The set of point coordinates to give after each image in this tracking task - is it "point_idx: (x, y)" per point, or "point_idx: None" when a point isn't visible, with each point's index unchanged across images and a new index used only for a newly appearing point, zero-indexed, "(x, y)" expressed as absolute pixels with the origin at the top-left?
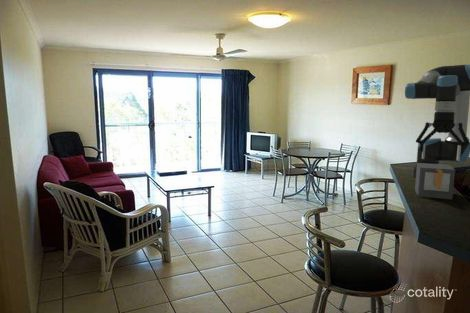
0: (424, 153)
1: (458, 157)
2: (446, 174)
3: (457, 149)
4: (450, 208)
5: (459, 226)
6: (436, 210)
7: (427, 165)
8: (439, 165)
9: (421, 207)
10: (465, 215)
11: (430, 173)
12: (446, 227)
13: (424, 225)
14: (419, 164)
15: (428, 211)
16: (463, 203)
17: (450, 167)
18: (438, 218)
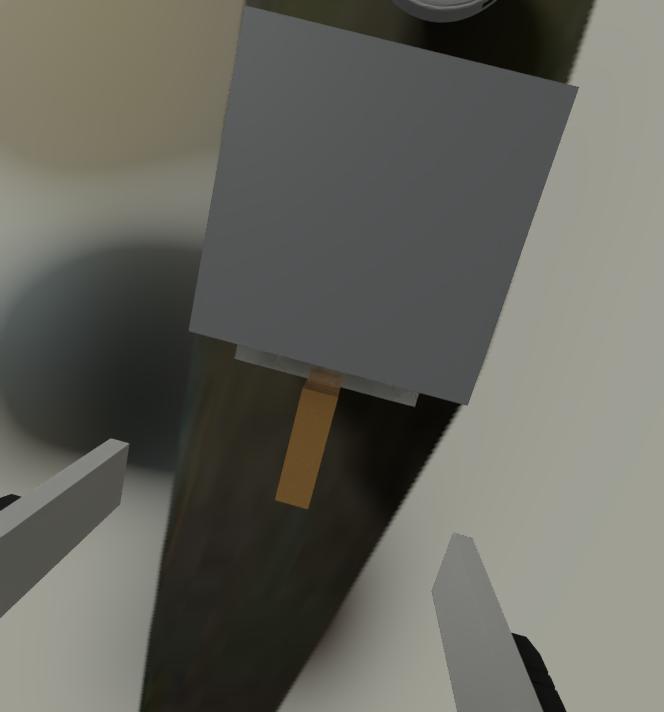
0: (73, 545)
1: (441, 624)
2: (387, 396)
3: (487, 650)
4: (335, 504)
5: (267, 694)
6: (261, 536)
7: (299, 191)
8: (431, 172)
9: (212, 499)
10: (350, 590)
11: (274, 366)
12: (221, 703)
13: (157, 689)
14: (236, 132)
15: (223, 550)
16: (443, 419)
17: (486, 290)
18: (230, 626)
